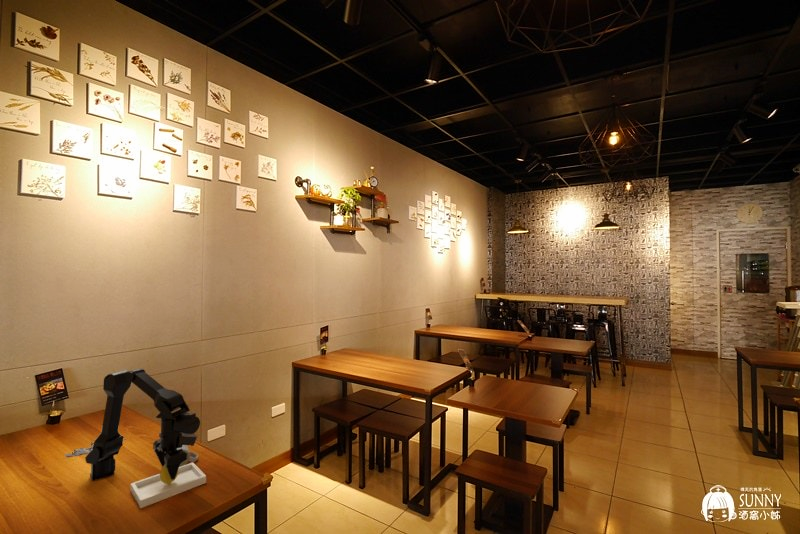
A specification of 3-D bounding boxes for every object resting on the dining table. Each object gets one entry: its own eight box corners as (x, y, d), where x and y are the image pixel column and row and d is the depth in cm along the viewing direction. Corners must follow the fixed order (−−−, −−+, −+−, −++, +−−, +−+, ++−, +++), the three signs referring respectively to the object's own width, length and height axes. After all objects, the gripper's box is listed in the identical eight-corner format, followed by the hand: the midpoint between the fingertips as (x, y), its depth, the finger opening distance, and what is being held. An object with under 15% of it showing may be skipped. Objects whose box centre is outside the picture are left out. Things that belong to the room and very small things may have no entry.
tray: (140, 508, 118) (140, 500, 118) (130, 490, 127) (130, 483, 127) (206, 482, 132) (206, 475, 132) (192, 468, 142) (192, 462, 142)
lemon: (165, 480, 132) (165, 458, 133) (181, 479, 133) (181, 457, 133) (156, 489, 127) (156, 465, 127) (172, 488, 127) (173, 465, 128)
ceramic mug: (169, 471, 140) (170, 451, 140) (166, 463, 146) (167, 444, 146) (200, 463, 146) (200, 444, 147) (195, 455, 153) (196, 437, 153)
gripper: (203, 431, 130) (202, 475, 130) (186, 417, 142) (185, 456, 142) (168, 441, 122) (167, 488, 121) (153, 425, 134) (152, 467, 134)
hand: (169, 474), depth 130 cm, fingers open, 9 cm apart
